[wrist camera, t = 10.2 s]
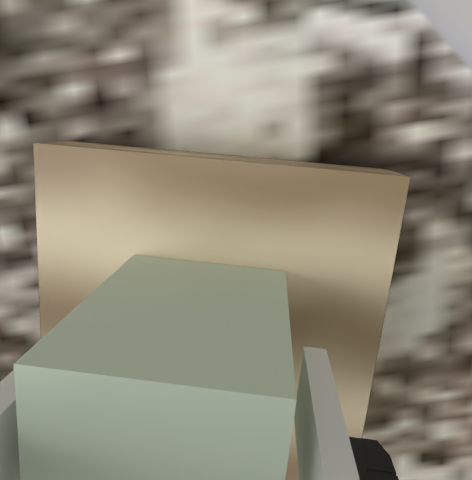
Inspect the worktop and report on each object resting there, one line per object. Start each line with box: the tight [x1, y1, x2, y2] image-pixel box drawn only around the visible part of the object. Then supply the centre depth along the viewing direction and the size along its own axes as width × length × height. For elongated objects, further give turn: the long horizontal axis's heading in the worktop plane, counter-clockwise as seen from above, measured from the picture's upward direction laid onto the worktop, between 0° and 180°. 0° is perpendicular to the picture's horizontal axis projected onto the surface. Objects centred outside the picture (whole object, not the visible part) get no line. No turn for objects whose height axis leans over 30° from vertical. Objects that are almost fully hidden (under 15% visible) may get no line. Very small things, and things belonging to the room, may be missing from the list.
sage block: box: [14, 255, 297, 480], centre depth 13 cm, size 6×6×8 cm
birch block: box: [33, 141, 410, 480], centre depth 19 cm, size 14×14×4 cm
